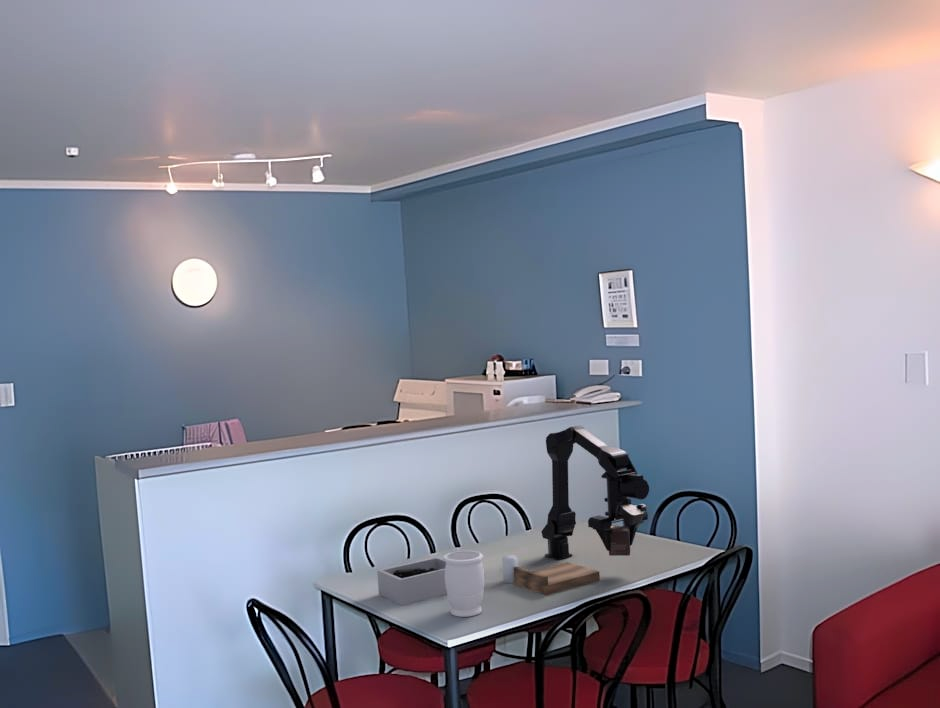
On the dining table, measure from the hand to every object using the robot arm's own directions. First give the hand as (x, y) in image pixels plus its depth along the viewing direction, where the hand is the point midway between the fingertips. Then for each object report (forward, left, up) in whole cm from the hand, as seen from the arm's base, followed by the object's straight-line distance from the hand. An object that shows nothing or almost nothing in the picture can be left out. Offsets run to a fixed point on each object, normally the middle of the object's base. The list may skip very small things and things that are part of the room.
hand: (619, 547), depth 261 cm
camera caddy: (-26, -52, -8) cm, 59 cm away
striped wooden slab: (-7, -18, -8) cm, 21 cm away
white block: (-17, -27, -8) cm, 33 cm away
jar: (-3, -52, -8) cm, 53 cm away
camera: (-26, -52, -9) cm, 59 cm away
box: (0, 0, -2) cm, 2 cm away
